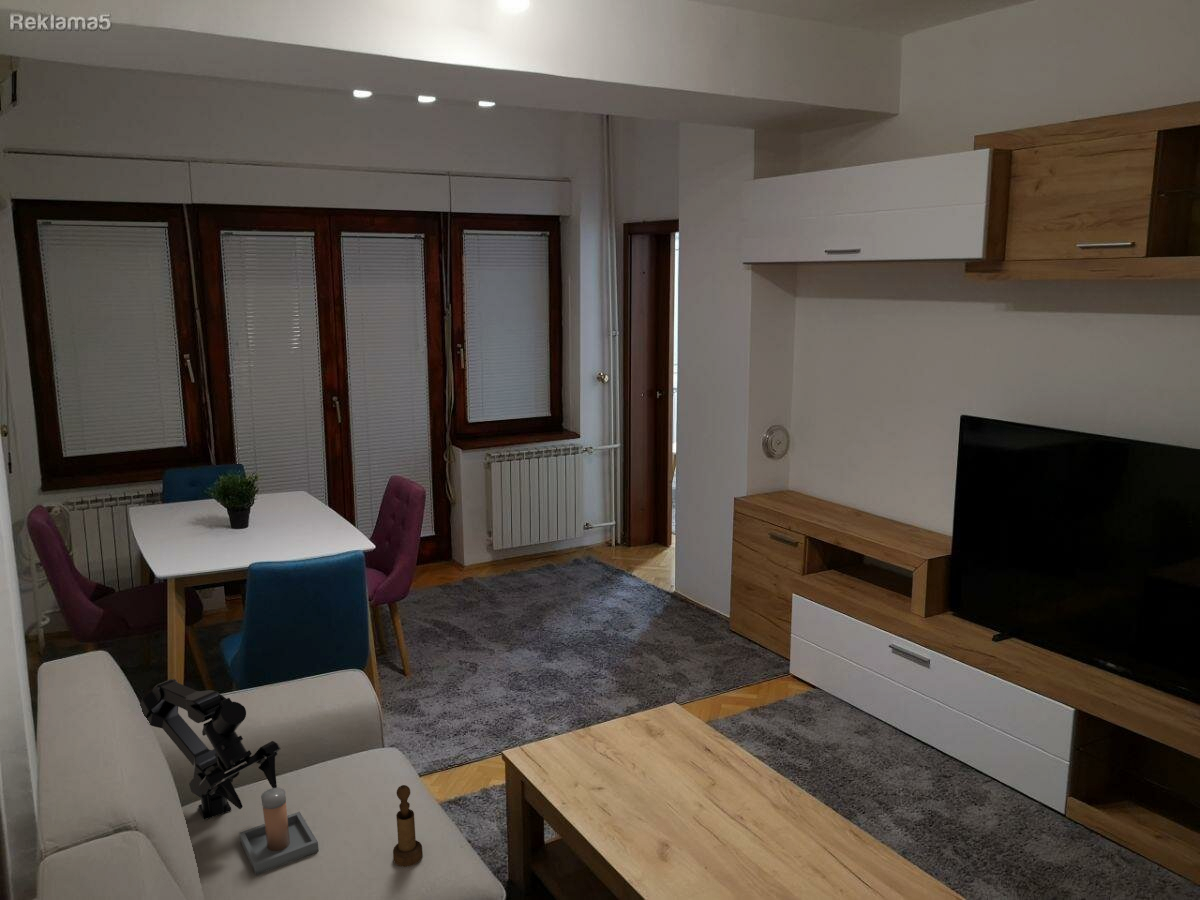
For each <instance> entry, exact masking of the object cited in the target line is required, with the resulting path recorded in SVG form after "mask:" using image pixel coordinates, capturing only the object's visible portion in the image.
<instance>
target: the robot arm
mask: <svg viewBox="0 0 1200 900" xmlns="http://www.w3.org/2000/svg"><path fill="white" fill-rule="evenodd" d="M139 705H140V706H141V708H142V712H143V714H144V716H145V717H146V718H147V720H148V721H149V723H150V724H149V723H148V724H149V726H151V727H155V728H159V729H162V730H163V731H164V732H165V733H166V735H167V736H168V737H169V738H170V740H171V741H172V742H173V744H175V745H176V747H177V748H178V749H179V751H180V752H181V753H182V754H183V755H184V757H186V759H187V760H188V761H189V762H190V764H191V765H192V768H193V769H192V775H193V777H192V779H191V781H189V783H188V784H189V789H190V792H192V793H193V794H194V795H196V796H197V797H198V798H200V803H201V804H198V806H197V807H198V809H199V812H200V814H201V817H202V819H204V820H208V819H210V817H211V818H213V817H212V816H214V817H216V815H217V816H219V814H220V815H223V814H225V812H226V813H228V811H229V812H231V811H232V807H231V805H230V803H231V804H232V805H233V806H235V807H236V808H238V810H242V808H243V804H242V801H241V799H240V797H239V795H238V793H237V791H236V790H235V787H234V786H233V781H234V779H235V778H237V777H238V776H239V775H240V772H241V771H243V770H245V769H247V768H249V767H250V766H252V765H255V764H260V765H259V766H258V769H259V770H261V771H262V772H263V774H264V776H265V778H266V780H267V781H268V783H269V784H270V786H271V789H272V788H278V785H277V776H276V775H277V774H276V757H277V756H278V753H279V752H280V750H281V747H280V745H279V743H277V742H276V741H274V740H272V741H270V742H268V743H266V744H264V745H262V746H260V747H259V748H258V749H257V751H256V752H255V753H254V754H253V755H252V752H251V750H250V749H249V750H247V749H246V748H245V746H244V744H243V742H242V741H243V740H244V738H243V736H242V735H239V736H238V734H237V732H236V730H237V729H238V728H239V727H240V725H241V724H242V723H243V721H245V719H246V717H247V710H246V708H245V705H243V704H241V703H240V702H238V701H232V699H231V698H230V697H225V696H224V695H222V694H221V693H219V692H218V691H217V690H212V689H207V690H201V691H200V690H195V689H193V688H192V687H189V686H186V685H184V684H182V683H180V682H178V681H177V680H176V678H172V679H171V678H170V679H167V680H165V681H163V682H161V683H157V684H156V685H155V686H153V688H152V690H151V691H150V692H149V693H148V694H147V695H145V697H143V698H142V699H141V700H140V703H139ZM179 708H181V709H183V710H184V711H186V713H187V718H189V719H190V720H192V721H193V722H194V723H197V724H200V723H203V728H202V732H201V733H202V736H206V737H207V739H208V741H209V743H210V744H211V746H212V748H213V749H210V748H209V747H208V746H206V744H205V743H204V742H203V741H202V740H201V738H200V737H199V736H198V735H197V733H195V731H194V729H192V728H191V727H190V725H189V724H188V722H186V721H185V720H184V718H183V717H182V716H181V715H180V713H179ZM208 720H209V721H208ZM206 721H207V722H206ZM204 722H205V723H204ZM230 810H231V811H230ZM222 813H223V814H222ZM207 818H208V819H207Z"/></svg>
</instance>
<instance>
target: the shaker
mask: <svg viewBox="0 0 1200 900" xmlns="http://www.w3.org/2000/svg"><path fill="white" fill-rule="evenodd" d="M286 797H287V795H286V790H285V789H284V788H282V787H277V788H272V787H271V788H269V789H266V790H265V791H264V792H263V793H262V794H261V806H262V811H263V819H264V821H263V822H264V824H265V830H266V839H267V848H268V849H269V850H271V851H280V850H283V849H285V848H286V847H288V845H289V844H290V837H289V827H288V818H287V816H288V809H287V798H286Z"/></svg>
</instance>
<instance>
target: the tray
mask: <svg viewBox="0 0 1200 900" xmlns="http://www.w3.org/2000/svg"><path fill="white" fill-rule="evenodd" d="M287 818H288V827H289V837H290V844H289V845H288V847H286V848H285V849H283V850H280V851H271V850H269V849H268V848H267V839H266V830H265V823H263V824H259V825H258V826H254V827H251V828H248V829H246V830H242V831H240V832H238V833H239V840H240V844H241V846H242V848H243V851H244V850H245V851H244V853H245V855H246V857H247V859H248V861H249V863H250V866H251V867H252V870H253V872H254V874H255V875H259V874H262V873H265V872H268V871H270V870H273V869H275V868H279V867H281V866H283V865H286V864H288V863H291V862H294V861H296V860H298V859H299V860H300V859H301V858H304V857H307V856H310V855H312V854H314V853H317V852H319V842H318V839H317V838H316V836H315V835H314V833H313V831H312V829H311V828H310V826H309V825H308V823H307V822H306V820H305V819H304V816H303V815H302V812H300V811H297V812H294V813H291V814H289V815H288V814H287Z"/></svg>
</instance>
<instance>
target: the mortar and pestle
mask: <svg viewBox="0 0 1200 900" xmlns="http://www.w3.org/2000/svg"><path fill="white" fill-rule="evenodd" d="M396 796H397V798H398V800H400V804H399V805H398V806H399V811H397V812H396V828H397V829H396V831H397V844H395V845H394V847H393V849H392V856H393V862H394V864H395V865H397V866H399V867H402V866H403V867H404V868H405V867H406V868H408V867H412V866H415V865H416V864H418V863H419V862H420V861H421V860H422V859H423V856H424V855H423V845H422V844H421V842H420V841H419V840H417V839H416V822H415V812H414V811H413V809H410V806H411V804H410V802H409V801H408V800H409V798H410V796H411V789H410V787H409V786H408V785H406V784H405V785H404V784H402V785H400V786H398V788H397V790H396ZM407 866H408V867H407ZM403 867H402V868H403Z"/></svg>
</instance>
